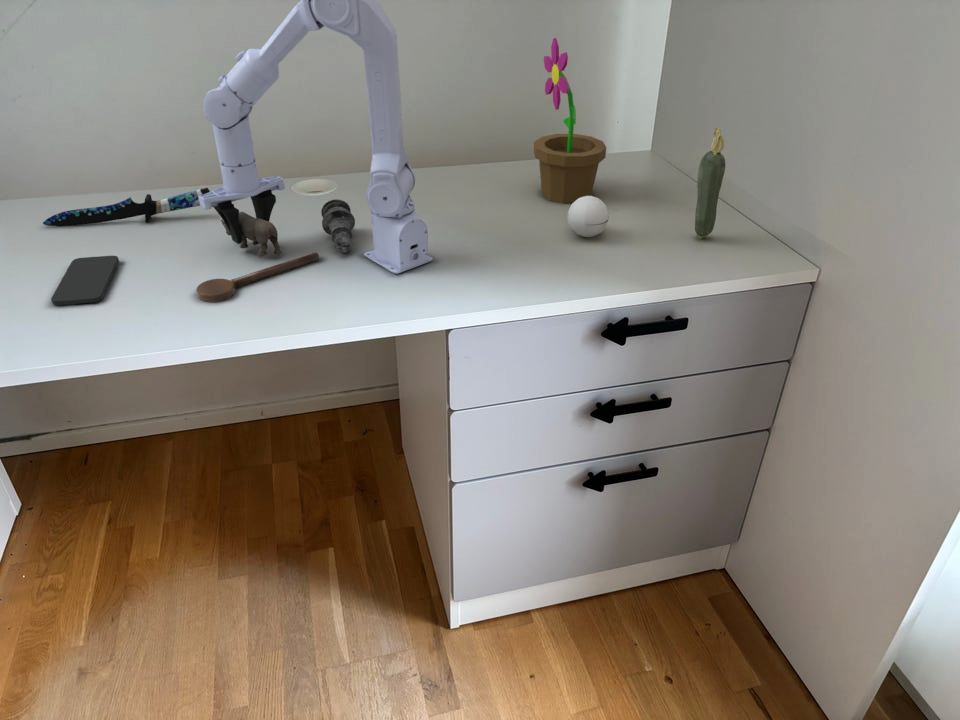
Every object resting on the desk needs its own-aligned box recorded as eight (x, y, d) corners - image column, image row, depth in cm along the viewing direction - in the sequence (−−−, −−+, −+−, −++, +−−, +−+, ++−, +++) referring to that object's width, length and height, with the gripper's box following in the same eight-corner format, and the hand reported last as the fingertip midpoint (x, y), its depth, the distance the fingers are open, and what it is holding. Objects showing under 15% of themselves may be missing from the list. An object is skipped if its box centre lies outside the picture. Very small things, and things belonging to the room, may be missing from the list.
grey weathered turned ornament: (334, 230, 142) (343, 271, 134) (312, 211, 138) (320, 251, 130) (358, 212, 141) (369, 252, 133) (337, 192, 136) (347, 232, 128)
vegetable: (712, 245, 137) (733, 134, 126) (687, 243, 138) (706, 132, 126) (710, 235, 140) (731, 126, 129) (686, 233, 141) (705, 124, 130)
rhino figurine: (234, 232, 138) (229, 200, 135) (286, 252, 132) (282, 220, 129) (215, 239, 136) (210, 207, 132) (268, 261, 129) (263, 227, 126)
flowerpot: (521, 185, 161) (527, 32, 144) (584, 178, 165) (597, 28, 148) (546, 210, 150) (556, 48, 133) (613, 203, 153) (630, 43, 137)
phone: (48, 302, 116) (73, 258, 129) (50, 306, 117) (74, 262, 129) (100, 298, 118) (119, 254, 130) (101, 302, 118) (120, 259, 130)
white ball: (574, 246, 136) (577, 207, 132) (560, 229, 142) (563, 191, 138) (626, 240, 138) (631, 201, 134) (610, 224, 144) (614, 186, 140)
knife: (216, 207, 147) (209, 184, 144) (214, 213, 144) (206, 190, 142) (53, 231, 145) (43, 209, 142) (48, 237, 142) (38, 215, 140)
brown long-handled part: (310, 253, 133) (309, 246, 132) (327, 264, 129) (327, 257, 129) (191, 292, 121) (190, 284, 120) (207, 305, 118) (205, 297, 117)
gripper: (265, 146, 132) (276, 219, 140) (184, 164, 124) (200, 241, 132) (286, 156, 128) (296, 231, 135) (203, 176, 120) (219, 255, 127)
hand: (250, 237), depth 133 cm, fingers closed on rhino figurine, 4 cm apart
